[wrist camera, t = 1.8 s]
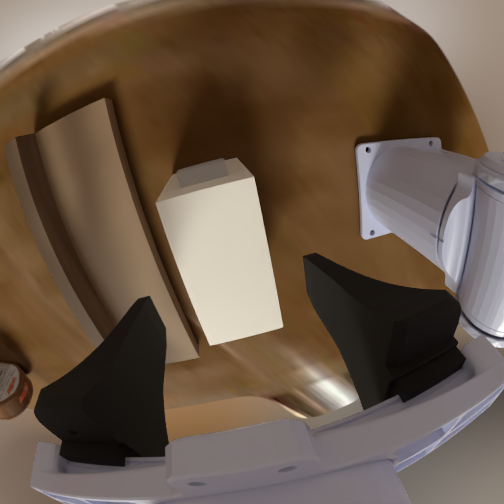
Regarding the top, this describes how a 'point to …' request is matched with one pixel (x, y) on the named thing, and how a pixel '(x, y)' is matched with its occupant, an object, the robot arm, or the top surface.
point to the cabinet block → (221, 248)
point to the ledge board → (94, 224)
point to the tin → (13, 390)
